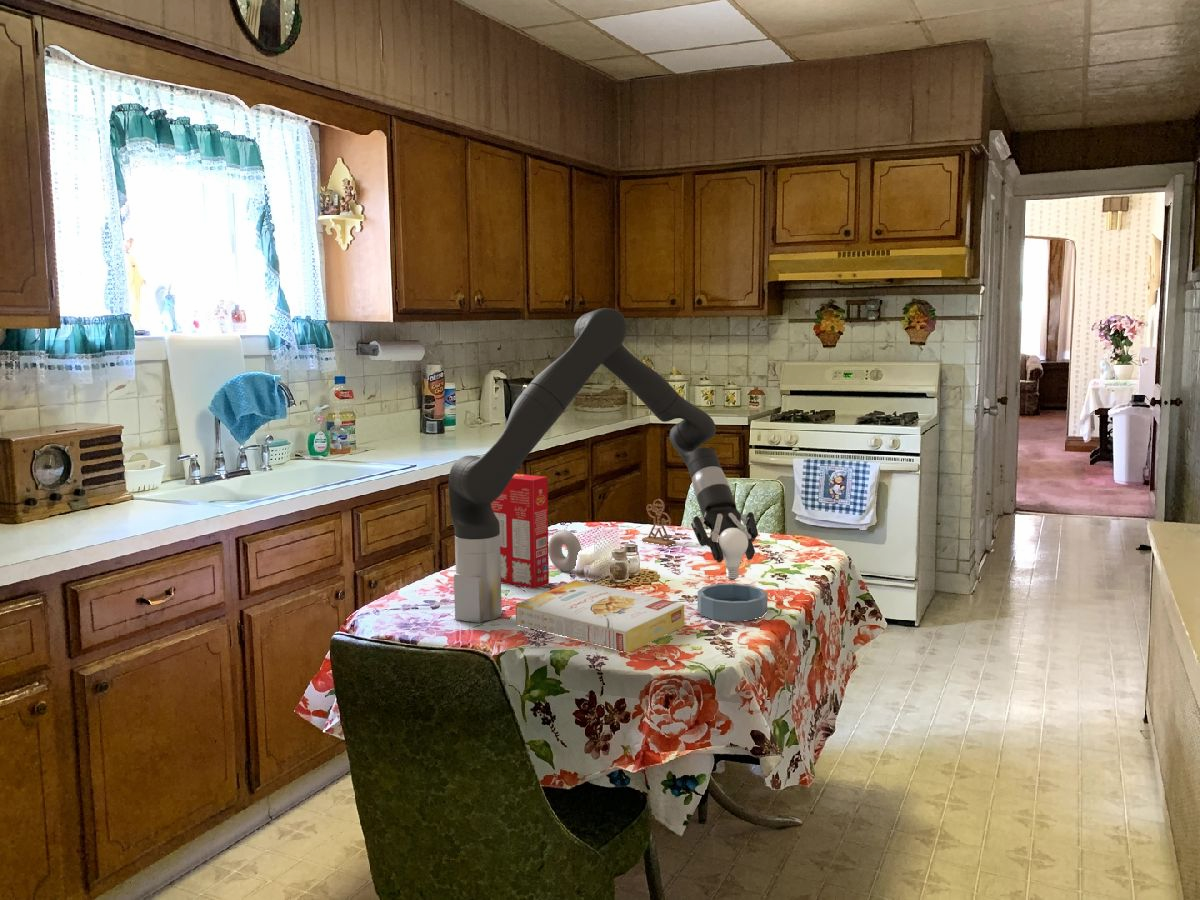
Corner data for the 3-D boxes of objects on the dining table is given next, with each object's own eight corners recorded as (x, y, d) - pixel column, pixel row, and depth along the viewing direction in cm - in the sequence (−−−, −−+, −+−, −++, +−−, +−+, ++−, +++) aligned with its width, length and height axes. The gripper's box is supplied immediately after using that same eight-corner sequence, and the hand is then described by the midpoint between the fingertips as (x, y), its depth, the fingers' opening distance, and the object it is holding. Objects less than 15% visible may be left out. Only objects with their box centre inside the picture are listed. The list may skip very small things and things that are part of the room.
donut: (584, 572, 242) (584, 532, 241) (575, 575, 240) (574, 534, 238) (555, 565, 249) (554, 526, 247) (545, 568, 246) (544, 528, 245)
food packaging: (548, 583, 233) (547, 476, 230) (535, 588, 229) (533, 480, 225) (499, 574, 241) (497, 471, 238) (485, 579, 237) (482, 474, 233)
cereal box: (575, 578, 218) (686, 600, 201) (576, 603, 219) (687, 626, 202) (513, 602, 202) (628, 628, 185) (514, 629, 203) (629, 657, 186)
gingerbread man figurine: (676, 544, 271) (676, 500, 269) (667, 546, 268) (667, 502, 266) (650, 539, 277) (650, 496, 275) (641, 541, 274) (641, 498, 272)
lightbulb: (724, 584, 206) (724, 532, 205) (712, 576, 212) (713, 525, 211) (752, 582, 208) (753, 530, 206) (740, 574, 214) (741, 523, 212)
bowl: (755, 625, 202) (755, 606, 201) (689, 616, 208) (689, 597, 207) (773, 606, 214) (774, 588, 214) (711, 598, 220) (711, 580, 220)
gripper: (686, 484, 212) (709, 552, 203) (749, 480, 217) (773, 546, 207) (677, 504, 218) (698, 571, 209) (738, 500, 222) (761, 565, 213)
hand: (736, 558), depth 208 cm, fingers closed on lightbulb, 6 cm apart
